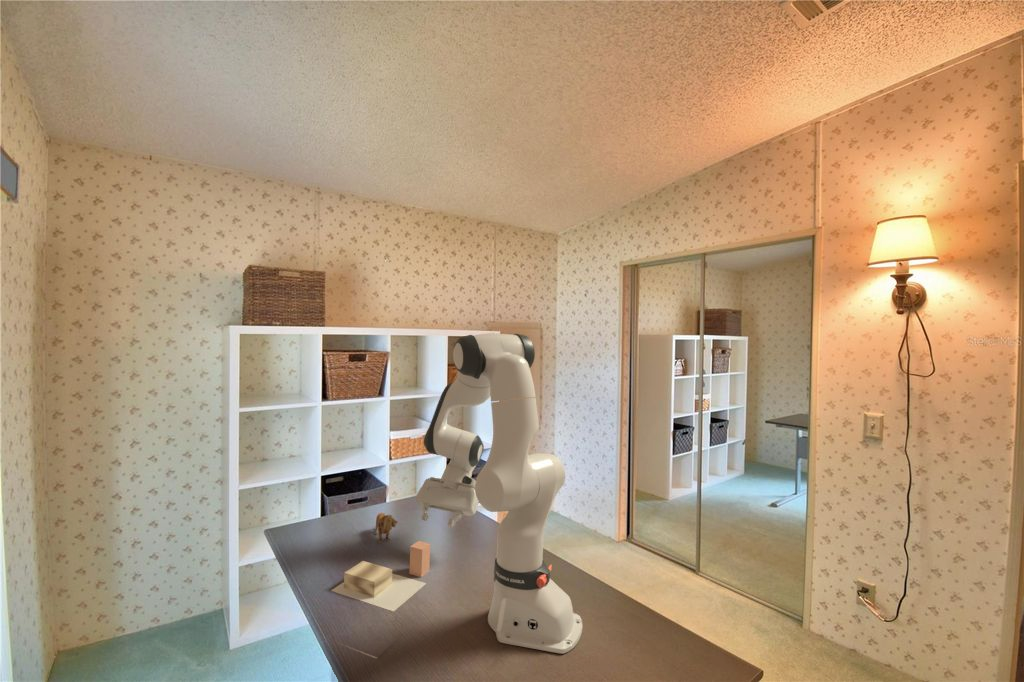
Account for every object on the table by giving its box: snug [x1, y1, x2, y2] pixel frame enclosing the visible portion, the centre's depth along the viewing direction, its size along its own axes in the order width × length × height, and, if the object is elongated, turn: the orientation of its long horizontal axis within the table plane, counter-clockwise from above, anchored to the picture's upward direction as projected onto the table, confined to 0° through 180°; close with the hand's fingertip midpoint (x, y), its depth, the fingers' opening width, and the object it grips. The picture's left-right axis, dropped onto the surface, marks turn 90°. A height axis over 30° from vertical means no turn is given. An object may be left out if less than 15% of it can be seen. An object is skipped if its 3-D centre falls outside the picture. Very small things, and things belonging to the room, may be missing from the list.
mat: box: [330, 572, 427, 612], centre depth 121 cm, size 20×14×1 cm
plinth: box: [343, 560, 393, 597], centre depth 121 cm, size 10×7×4 cm
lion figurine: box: [373, 512, 398, 543], centre depth 151 cm, size 15×5×9 cm, turn 35°
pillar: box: [408, 540, 431, 578], centre depth 129 cm, size 4×4×8 cm
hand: (436, 523), depth 137 cm, fingers open, 8 cm apart
